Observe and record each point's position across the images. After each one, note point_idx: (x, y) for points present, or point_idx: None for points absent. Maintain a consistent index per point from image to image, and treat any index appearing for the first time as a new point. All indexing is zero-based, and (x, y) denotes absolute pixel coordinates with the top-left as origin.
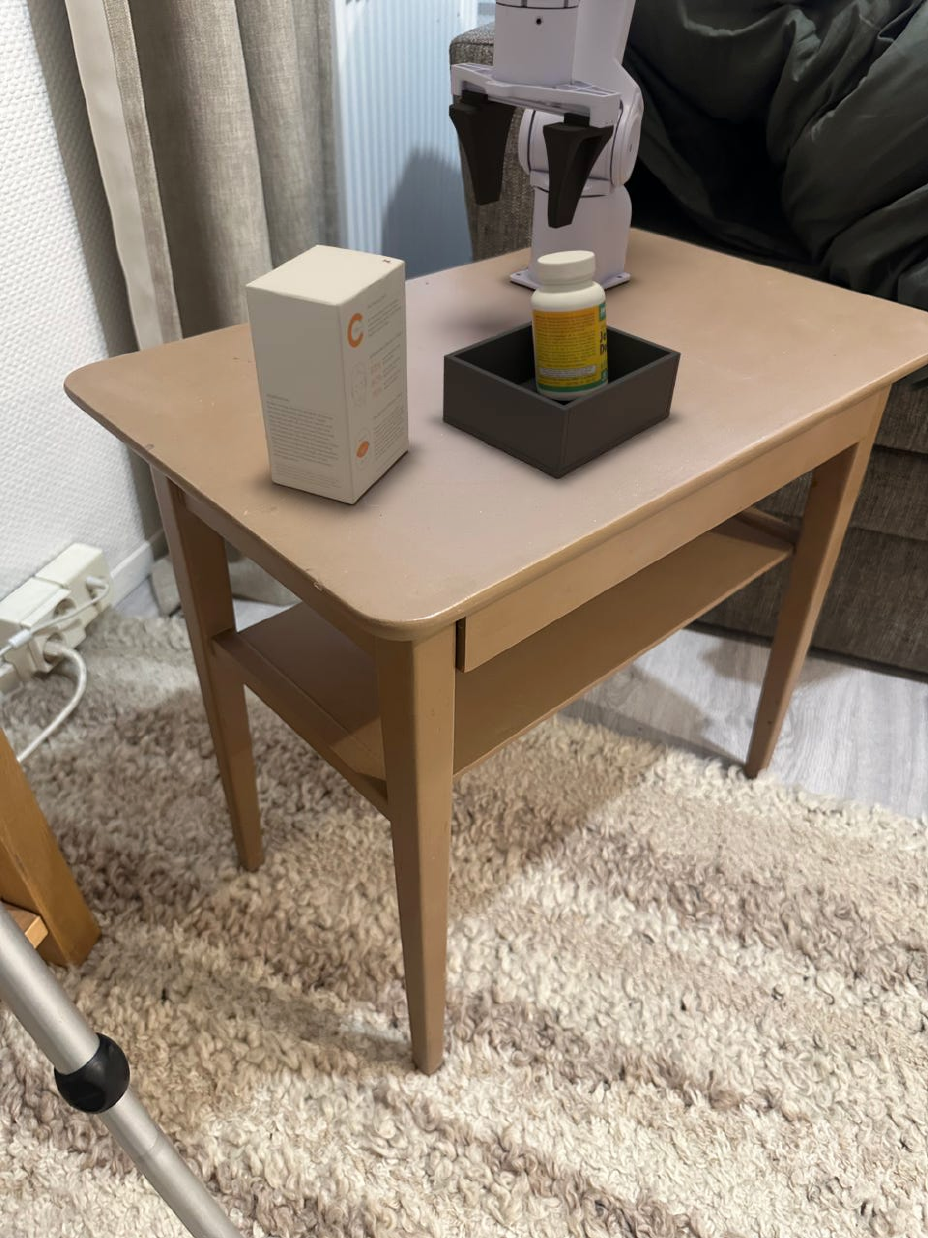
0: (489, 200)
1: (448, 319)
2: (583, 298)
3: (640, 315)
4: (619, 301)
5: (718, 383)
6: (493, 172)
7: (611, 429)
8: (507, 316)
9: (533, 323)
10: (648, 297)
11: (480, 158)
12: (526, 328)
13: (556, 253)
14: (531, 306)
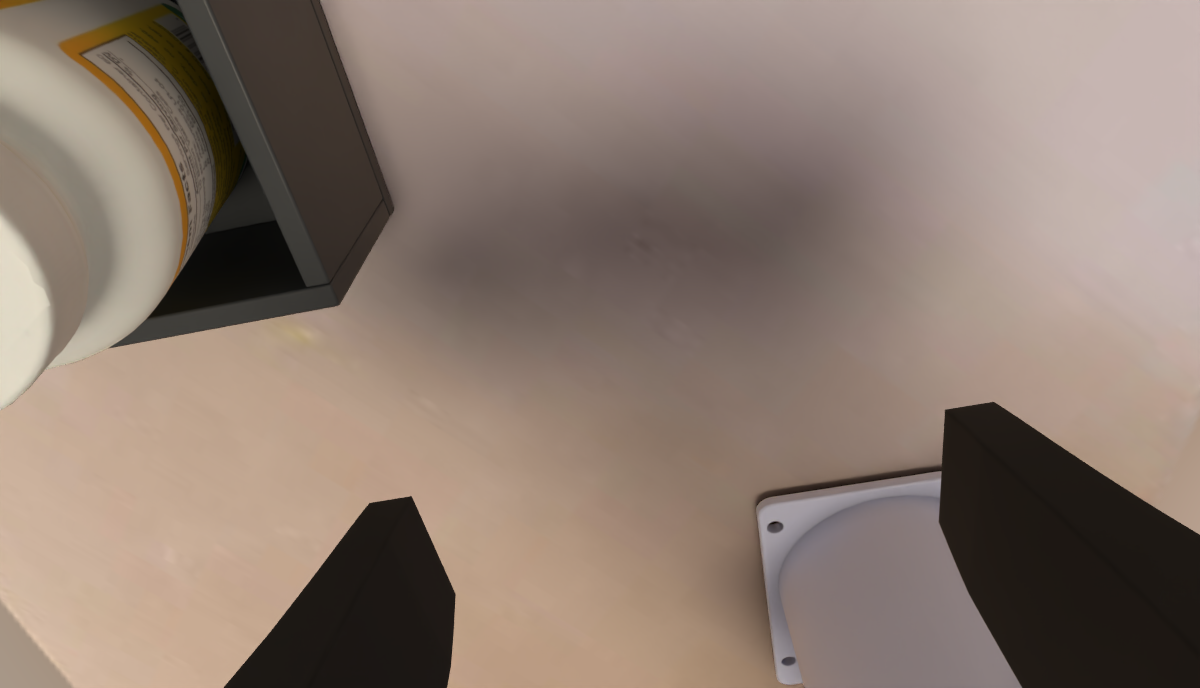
0: (950, 475)
1: (928, 129)
2: None
3: (593, 580)
4: (694, 591)
5: (161, 495)
6: (1030, 624)
7: None
8: (809, 311)
9: (20, 8)
10: (671, 647)
11: (1130, 633)
12: (201, 54)
13: (9, 311)
14: (4, 25)
